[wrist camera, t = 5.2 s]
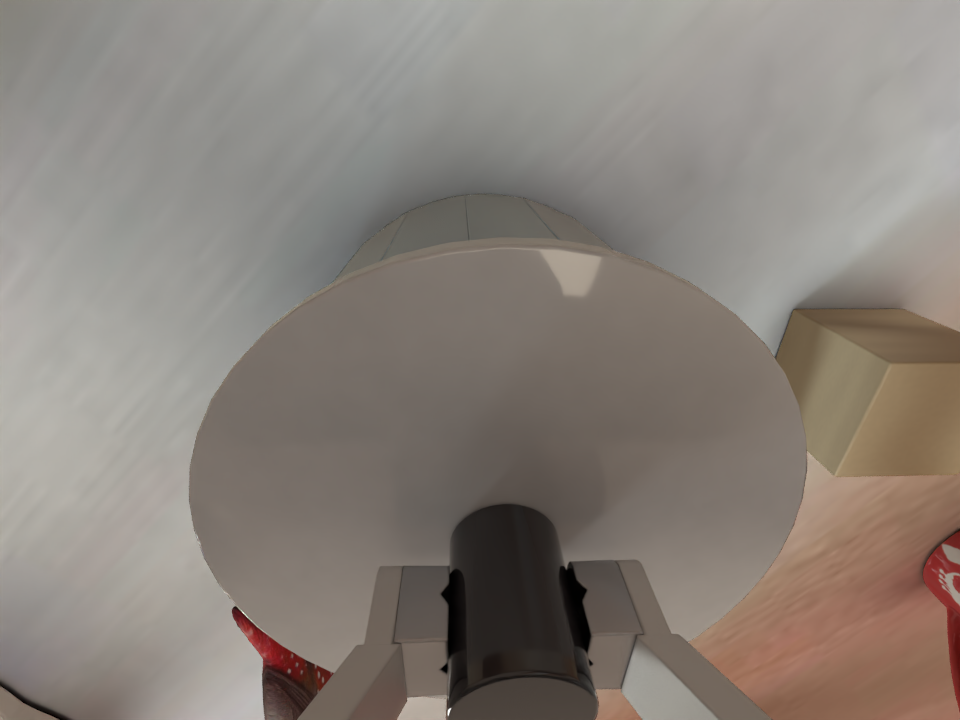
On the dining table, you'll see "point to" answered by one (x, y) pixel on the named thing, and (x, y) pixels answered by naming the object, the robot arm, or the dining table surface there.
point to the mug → (948, 596)
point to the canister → (469, 226)
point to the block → (875, 390)
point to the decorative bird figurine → (283, 674)
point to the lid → (497, 459)
